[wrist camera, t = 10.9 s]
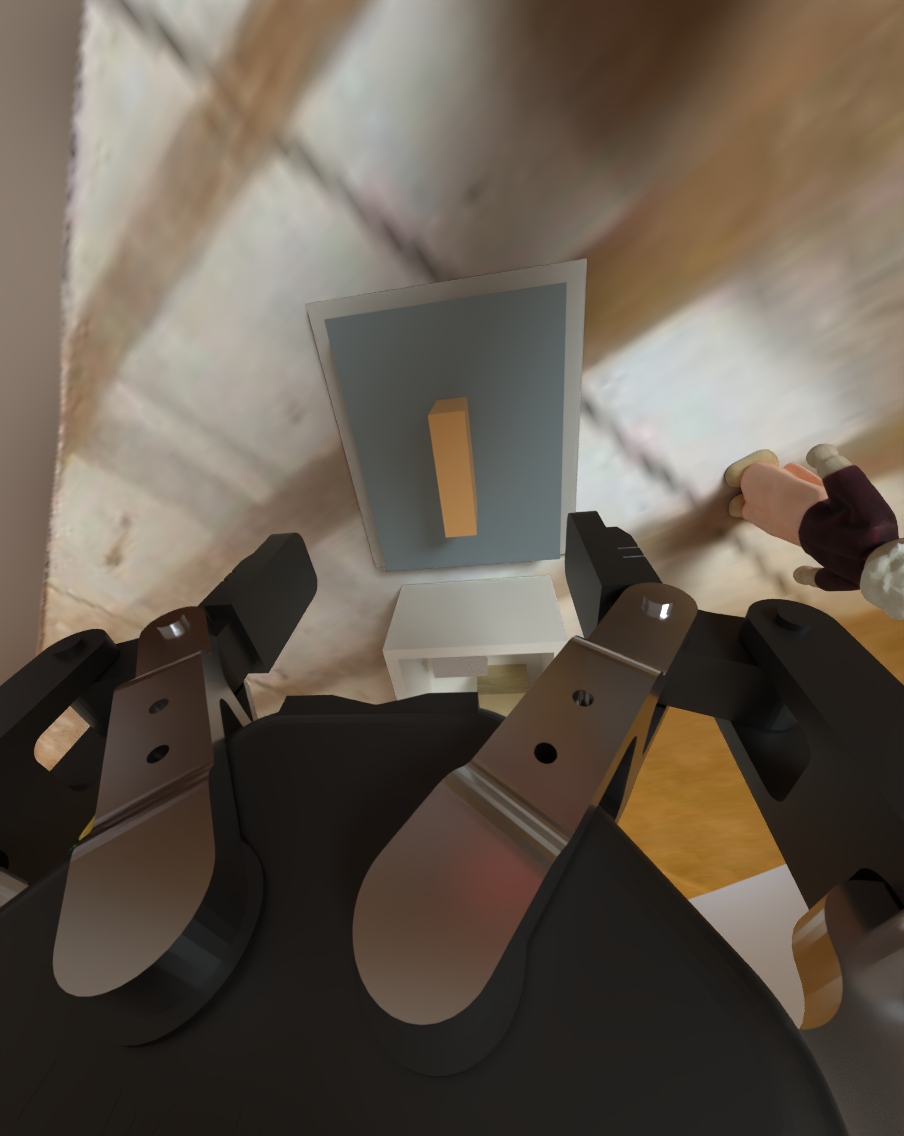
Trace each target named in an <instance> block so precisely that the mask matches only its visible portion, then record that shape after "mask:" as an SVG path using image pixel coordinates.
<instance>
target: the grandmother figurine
mask: <svg viewBox="0 0 904 1136" xmlns="http://www.w3.org/2000/svg"><path fill="white" fill-rule="evenodd" d="M806 461H807V463H808V464H809V465H810V466H811V467H813V468H816V470H817V474H818V476H819V477H820V478H819V477H818V476H816V475H815V474H813V473H812V472H810V471H809V470H807V469H806V468H804V467H802V466H800V465H798V464H796V463H790V464H788V465H786V466H785V467H784V468H782V467H779V462H778V458H777V456H776V455H775V454H774V453H773V452H772V451H770V450H760V451H757V452H755V453H753V454H751V455H749V456H747V457H745V458H743V459H741V460H739V461H737V462H736V463H734V464H732V465H731V466H730V467H729V468H728V469H727V471H726V474H725V478H726V482H727V484H728V485H729V486H731V487H741V489H742V492H743V493H742V494H739V495H737V496H735V497H734V498H733V499H732V500H731V501H730V504H729V509H728V511H729V514H730V515H732V516H734V517H743V518H744V519H745V520H747V521H749V522H751V523H752V524H754V525H755V526H757V527H759V528H760V529H762V530H763V531H765V532H766V533H768V534H770V535H772V536H775V537H778V538H781V539H783V540H786V541H788V542H790V543H792V544H795V545H798V546H800V547H802V548H803V550H804V551H805V552H806V553H807V554H808V555H810V556H811V557H813V558H814V559H815V560H816V561H817V562H818V563H819V564H821V565H822V566H823V567H824V568H814V567H811V566H802V567H799V568H797V569H796V570H795V571H794V573H793V577H794V579H795V581H796V582H798V583H800V584H803V585H810V586H813V587H817V588H820V589H823V590H825V591H853V590H859V589H860V590H861V593H862V594H863V596H864V598H865V599H866V600H867V601H869V602H870V603H872V604H873V605H875V606H877V607H879V608H881V609H882V610H883V612H885V613H886V614H887V615H888V616H890V617H892V618H893V619H898V620H904V538H900V539H899V536H898V526H897V520H896V517H895V514H894V513H893V511H892V510H891V508H890V507H889V505H888V504H887V503H886V501H885V500H884V499H883V497H882V496H881V494H880V493H879V492H878V491H877V490H876V488H875V487H874V486H873V485H872V484H871V482H870V481H869V480H868V478H867V477H866V475H865V474H864V473H863V472H862V471H861V469H860V468H859V467H857V466H855V465H852V464H851V463H850V462H849V461H848V460H847V459H846V458H845V457H843V456H839V453H838V450H837V448H836V447H835V446H833V445H831V444H819V445H817V446H815V447H813V448H812V449H811V450H810V451H809V452H808V454H807V456H806Z"/></svg>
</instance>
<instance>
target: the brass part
mask: <svg viewBox="0 0 904 1136" xmlns="http://www.w3.org/2000/svg"><path fill="white" fill-rule="evenodd" d="M528 690H529V683H528V675H527V668H526V664H509V665H488V676H477V692H478V697H479V705H480V708H483V709H488V710H491V711H494V712H496V713H499V714H501V715H504V716H506V717H507V716H508V715H509V713H510V712H511V711H512V710H513V709H514V707H515V706H516V705H517V704H518V702H519V701H520V700H521V699H522V697H523V696H524V695H525V694H526V693H527V691H528Z"/></svg>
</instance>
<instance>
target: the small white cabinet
mask: <svg viewBox="0 0 904 1136" xmlns="http://www.w3.org/2000/svg"><path fill="white" fill-rule="evenodd" d="M567 642H568V638H567V634H566V631H565V627H564V624H563V620H562V616H561V613H560V609H559V606H558V602H557V598H556V595H555V591H554V588H553V584H552V580H551V577H550V575H546V576H531V577H516V578H502V579H487V580H472V581H458V582H443V583H428V584H414V585H402V588H401V591H400V594H399V598H398V601H397V604H396V607H395V611H394V614H393V617H392V621H391V624H390V627H389V630H388V634H387V637H386V640H385V644H384V647H383V650H382V651H383V654H384V658H385V661H386V664H387V668H388V671H389V675H390V678H391V681H392V685H393V688H394V692H395V695H396V699H397V700H401V699H405V698H409V697H414V696H418V695H422V694H426V693H448V692H477V676H473V677H447V678H435V677H434V672H433V667H432V663H431V658H440V657H463V656H485V655H488V665H509V664H526V668H527V675H528V683H529V689H530V688H531V686H532V685H533V684H534V683H535V682H536V680H537V679H538V678H539V677H540V675H541V674H542V673H543V672H544V670H545V669H546V668H547V667H548V666H549V664H550V663H551V662H552V661H553V659H554V658H555V657H556V656H557V655H558V653H559V652H560V651H561V650H562V648H563V647H564V646H565V645H566V643H567Z"/></svg>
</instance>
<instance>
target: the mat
mask: <svg viewBox="0 0 904 1136" xmlns="http://www.w3.org/2000/svg"><path fill="white" fill-rule="evenodd" d="M586 268H587V258H586V259H579V260H573V261H567V262H561V263H555V264H548V265H542V266H536V267H530V268H524V269H517V270H511V271H505V272H499V273H493V274H487V275H480V276H474V277H468V278H462V279H456V280H449V281H443V282H437V283H431V284H425V285H418V286H412V287H406V288H400V289H394V290H387V291H381V292H375V293H369V294H363V295H357V296H350V297H344V298H338V299H332V300H326V301H319V302H313V303H307V304H306V307H307V311H308V315H309V319H310V322H311V326H312V330H313V334H314V337H315V341H316V345H317V349H318V353H319V356H320V360H321V364H322V368H323V371H324V375H325V379H326V383H327V386H328V390H329V394H330V398H331V401H332V405H333V409H334V413H335V417H336V420H337V424H338V428H339V432H340V435H341V439H342V443H343V447H344V450H345V454H346V458H347V462H348V465H349V469H350V473H351V477H352V480H353V484H354V488H355V492H356V496H357V499H358V503H359V507H360V511H361V514H362V518H363V522H364V526H365V529H366V533H367V537H368V541H369V544H370V548H371V552H372V556H373V560H374V563H375V567H376V568H381V567H385V563H384V559H383V555H382V551H381V547H380V543H379V539H378V535H377V531H376V527H375V523H374V519H373V515H372V511H371V507H370V503H369V499H368V495H367V491H366V487H365V483H364V478H363V474H362V470H361V466H360V462H359V458H358V454H357V450H356V446H355V442H354V438H353V434H352V430H351V426H350V422H349V418H348V414H347V410H346V406H345V402H344V398H343V394H342V390H341V386H340V382H339V378H338V374H337V370H336V366H335V362H334V358H333V354H332V350H331V346H330V342H329V338H328V334H327V330H326V326H325V322H324V319H330V318H337V317H343V316H350V315H356V314H363V313H369V312H376V311H382V310H389V309H395V308H401V307H408V306H414V305H421V304H427V303H434V302H440V301H447V300H453V299H460V298H466V297H473V296H479V295H486V294H492V293H499V292H505V291H512V290H518V289H525V288H531V287H537V286H544V285H550V284H557V283H563V282H567V290H566V331H565V371H564V412H563V452H562V493H561V533H560V554H565V548H566V527H567V516H568V513H574V512H576V492H577V469H578V447H579V425H580V402H581V380H582V358H583V335H584V313H585V291H586Z"/></svg>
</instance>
